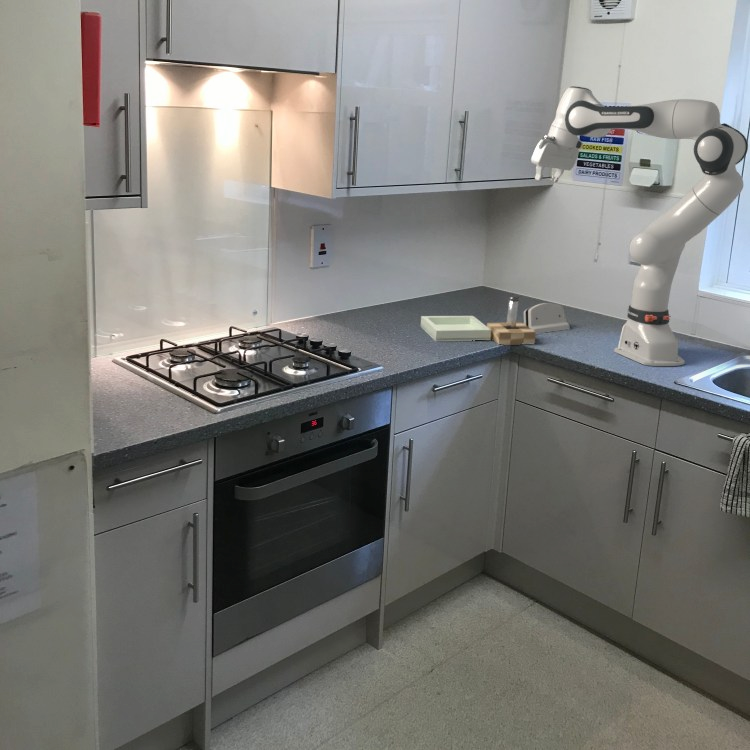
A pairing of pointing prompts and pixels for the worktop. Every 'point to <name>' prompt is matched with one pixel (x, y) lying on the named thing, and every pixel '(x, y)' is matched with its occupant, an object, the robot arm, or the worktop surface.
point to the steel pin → (512, 312)
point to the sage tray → (455, 328)
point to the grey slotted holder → (545, 318)
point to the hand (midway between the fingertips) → (545, 180)
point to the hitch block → (511, 334)
